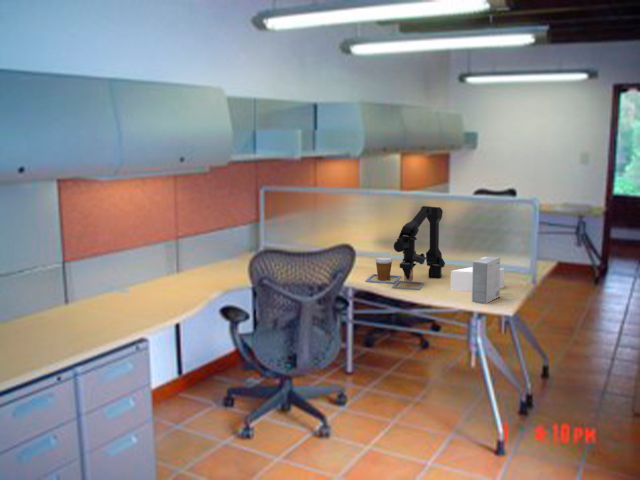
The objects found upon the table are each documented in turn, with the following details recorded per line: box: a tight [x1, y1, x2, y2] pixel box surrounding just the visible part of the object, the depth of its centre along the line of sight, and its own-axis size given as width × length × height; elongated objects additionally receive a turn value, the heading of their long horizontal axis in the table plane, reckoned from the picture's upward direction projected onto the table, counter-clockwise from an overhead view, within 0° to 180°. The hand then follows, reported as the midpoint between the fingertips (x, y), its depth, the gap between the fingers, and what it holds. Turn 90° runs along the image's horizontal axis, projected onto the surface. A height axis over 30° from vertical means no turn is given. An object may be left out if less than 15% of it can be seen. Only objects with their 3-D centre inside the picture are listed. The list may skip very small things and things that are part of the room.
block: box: [403, 267, 414, 282], centre depth 335 cm, size 4×4×6 cm
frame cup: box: [364, 273, 403, 285], centre depth 350 cm, size 16×16×1 cm
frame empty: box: [391, 280, 426, 291], centre depth 336 cm, size 14×14×1 cm
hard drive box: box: [471, 255, 501, 305], centre depth 306 cm, size 16×8×20 cm, turn 141°
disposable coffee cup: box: [374, 256, 393, 282], centre depth 349 cm, size 10×10×12 cm
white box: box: [450, 266, 506, 292], centre depth 328 cm, size 14×29×10 cm, turn 98°
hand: (408, 278), depth 335 cm, fingers closed on block, 4 cm apart
